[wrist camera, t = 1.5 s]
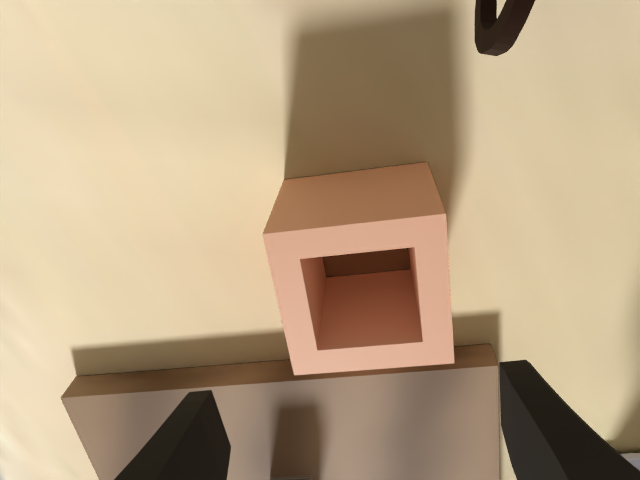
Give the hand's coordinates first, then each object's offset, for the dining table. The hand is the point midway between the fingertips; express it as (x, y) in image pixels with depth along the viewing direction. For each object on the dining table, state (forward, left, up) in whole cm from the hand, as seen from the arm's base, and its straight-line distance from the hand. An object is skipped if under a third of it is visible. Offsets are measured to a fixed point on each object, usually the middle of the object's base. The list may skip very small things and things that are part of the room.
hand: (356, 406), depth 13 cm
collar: (0, 0, -10) cm, 10 cm away
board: (+5, +13, -10) cm, 17 cm away
